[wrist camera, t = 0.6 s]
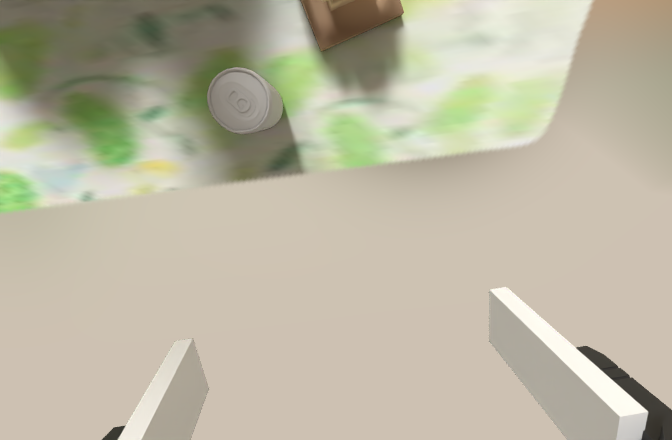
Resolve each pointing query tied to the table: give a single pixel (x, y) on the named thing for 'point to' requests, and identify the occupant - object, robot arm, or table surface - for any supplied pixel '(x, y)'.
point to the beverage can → (243, 101)
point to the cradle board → (347, 18)
